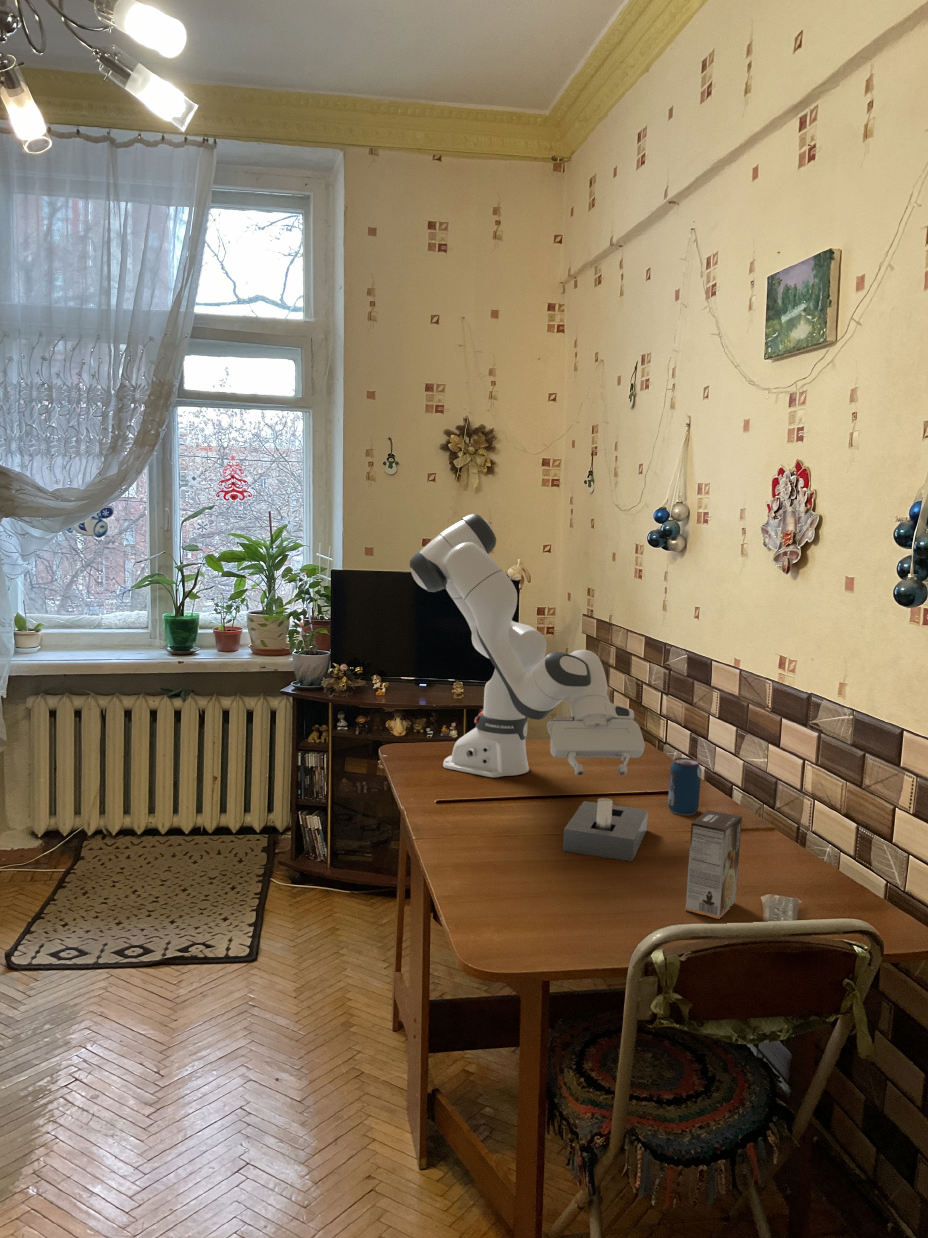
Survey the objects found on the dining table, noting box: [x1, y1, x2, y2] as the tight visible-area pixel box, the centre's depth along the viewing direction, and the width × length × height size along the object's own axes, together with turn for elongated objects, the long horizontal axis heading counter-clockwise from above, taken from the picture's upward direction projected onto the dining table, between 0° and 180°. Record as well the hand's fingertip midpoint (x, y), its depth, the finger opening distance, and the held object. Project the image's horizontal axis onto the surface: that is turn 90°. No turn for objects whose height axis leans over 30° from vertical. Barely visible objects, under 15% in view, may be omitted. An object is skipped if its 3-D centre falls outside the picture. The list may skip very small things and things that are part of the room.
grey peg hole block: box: [562, 800, 649, 862], centre depth 197 cm, size 14×20×4 cm
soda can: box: [667, 757, 702, 816], centre depth 218 cm, size 7×7×12 cm
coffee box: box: [685, 809, 743, 916], centre depth 165 cm, size 9×6×16 cm
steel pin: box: [596, 797, 614, 831], centre depth 192 cm, size 3×3×10 cm
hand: (601, 773), depth 199 cm, fingers open, 8 cm apart
